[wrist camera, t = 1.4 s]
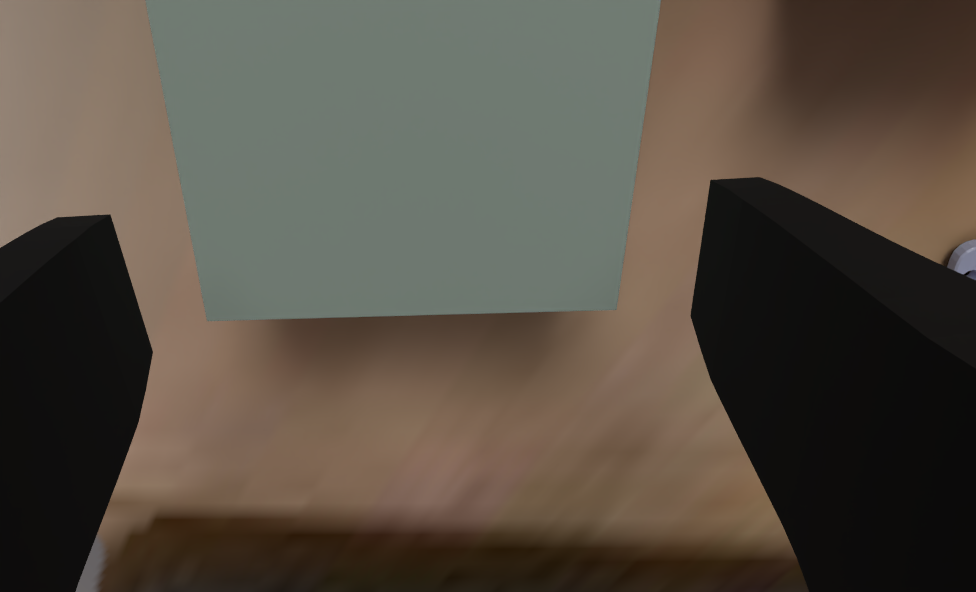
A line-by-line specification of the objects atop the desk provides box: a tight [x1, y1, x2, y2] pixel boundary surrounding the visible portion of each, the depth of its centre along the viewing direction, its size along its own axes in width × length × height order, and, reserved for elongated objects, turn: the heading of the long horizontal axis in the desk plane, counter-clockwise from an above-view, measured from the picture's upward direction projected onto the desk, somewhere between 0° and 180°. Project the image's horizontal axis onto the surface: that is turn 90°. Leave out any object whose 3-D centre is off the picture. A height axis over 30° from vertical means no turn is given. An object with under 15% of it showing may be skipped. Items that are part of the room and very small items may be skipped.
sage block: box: [145, 0, 661, 321], centre depth 16 cm, size 8×8×5 cm
